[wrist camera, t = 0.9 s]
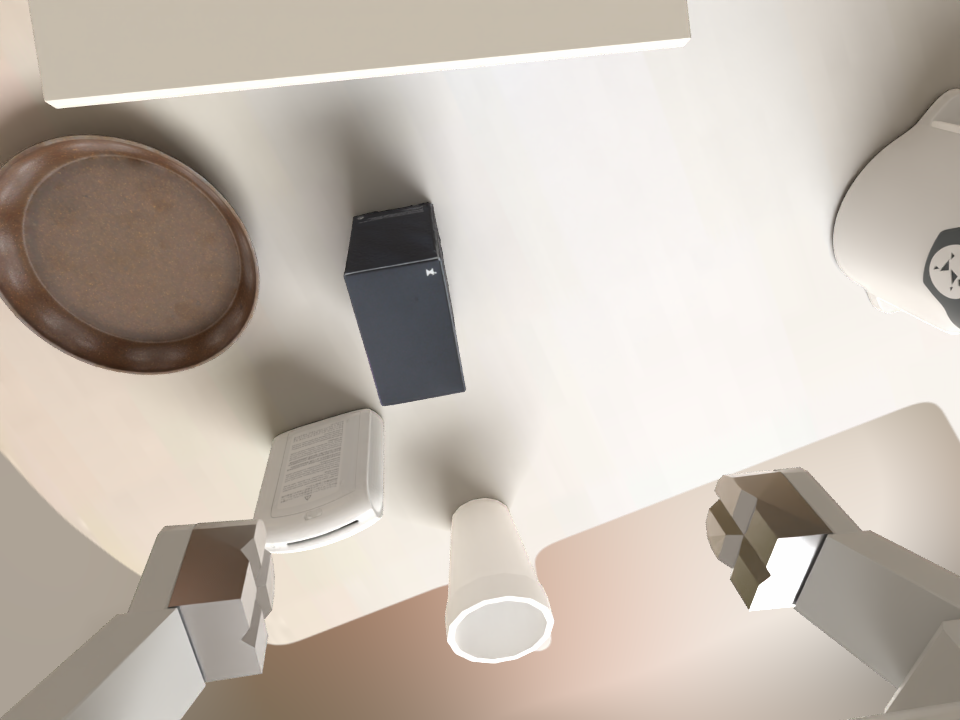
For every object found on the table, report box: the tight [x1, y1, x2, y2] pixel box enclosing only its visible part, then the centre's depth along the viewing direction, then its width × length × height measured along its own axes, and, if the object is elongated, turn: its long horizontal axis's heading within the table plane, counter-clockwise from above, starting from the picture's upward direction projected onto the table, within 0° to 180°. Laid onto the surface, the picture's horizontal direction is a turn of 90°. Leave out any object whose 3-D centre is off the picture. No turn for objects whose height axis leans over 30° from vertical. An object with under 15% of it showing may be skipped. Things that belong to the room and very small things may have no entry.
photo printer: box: [253, 409, 384, 553], centre depth 50 cm, size 10×4×12 cm, turn 106°
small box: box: [344, 202, 466, 406], centre depth 44 cm, size 11×6×10 cm, turn 8°
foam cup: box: [445, 498, 554, 663], centre depth 58 cm, size 10×9×13 cm
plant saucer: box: [0, 135, 259, 375], centre depth 43 cm, size 18×18×3 cm
